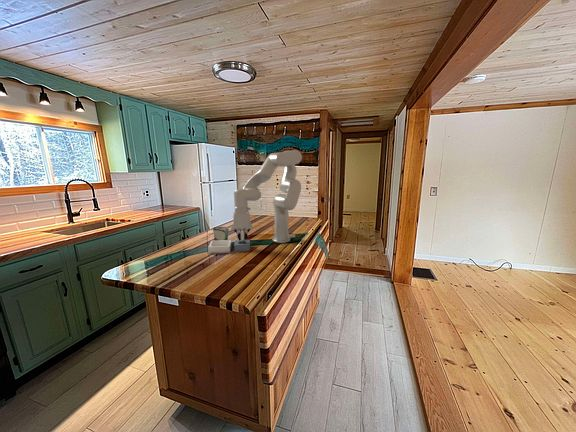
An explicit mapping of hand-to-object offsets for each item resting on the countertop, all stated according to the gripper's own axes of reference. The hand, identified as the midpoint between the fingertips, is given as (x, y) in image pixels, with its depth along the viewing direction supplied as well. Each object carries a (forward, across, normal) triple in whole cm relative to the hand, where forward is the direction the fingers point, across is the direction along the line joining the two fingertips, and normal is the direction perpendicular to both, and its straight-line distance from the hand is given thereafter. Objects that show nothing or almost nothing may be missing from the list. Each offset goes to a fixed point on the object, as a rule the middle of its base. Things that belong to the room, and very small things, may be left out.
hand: (242, 239), depth 141 cm
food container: (+6, +13, -14) cm, 20 cm away
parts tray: (+6, +13, 0) cm, 15 cm away
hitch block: (+6, 0, 0) cm, 6 cm away
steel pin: (+5, 0, 0) cm, 5 cm away
